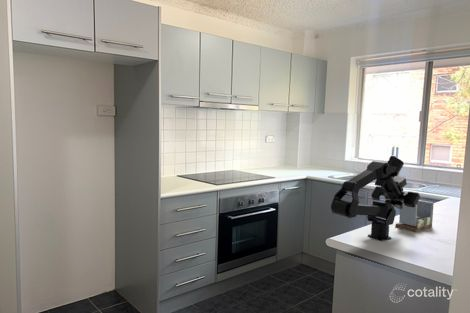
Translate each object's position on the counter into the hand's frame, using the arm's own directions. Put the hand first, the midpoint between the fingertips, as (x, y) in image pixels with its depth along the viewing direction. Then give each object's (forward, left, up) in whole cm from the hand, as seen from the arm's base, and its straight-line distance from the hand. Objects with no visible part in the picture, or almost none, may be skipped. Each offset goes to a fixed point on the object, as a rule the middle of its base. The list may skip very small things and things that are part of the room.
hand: (401, 208), depth 151 cm
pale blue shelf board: (+7, 0, -8) cm, 11 cm away
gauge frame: (+11, +2, -10) cm, 15 cm away
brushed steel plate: (+17, +3, -8) cm, 20 cm away
